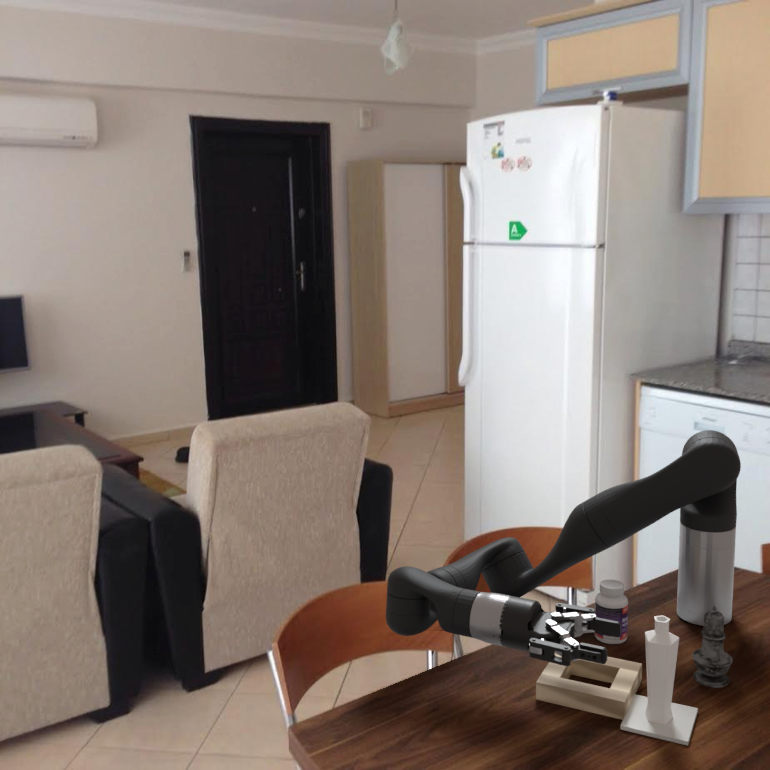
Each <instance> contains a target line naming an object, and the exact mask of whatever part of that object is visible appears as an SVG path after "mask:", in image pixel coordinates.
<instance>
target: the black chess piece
mask: <svg viewBox="0 0 770 770" xmlns="http://www.w3.org/2000/svg"><path fill="white" fill-rule="evenodd" d="M712 609H713V610H710V611H707V612H706V613H705V614H704V626H703V629H701V631H700V635H701V636H702V640H701V641H702V643H701V648H700V647H699V648H697V649H695V650H693V651H692V653H691V657H692V659H693V662H694V666H695V667H696V668H695V669H696V671H693V674H692V678H693V680H694V681H695V682H697V683H698V684H699V685H701V686H705V687H709V688H717V689H718V688H724V687H727V686H728V685H729V684H730V681H731V680H730V678H729V676H728V675H726V673H728V671H729V670H730V668H731V665H732V664H733V661H734V660H733V658H732V656H731V655H730V654H729V653H728V652H725V650H724V649H725V648H724V641H725V639H726V638H727V634H726V633H725V632H724V628H725V627H724V626H725V625H724V616H723V615H722V613H720V612H719V611H717V610H716V609H717V608H716V607H715V606H713V608H712Z"/></svg>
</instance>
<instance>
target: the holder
mask: <svg viewBox="0 0 770 770" xmlns="http://www.w3.org/2000/svg"><path fill="white" fill-rule="evenodd" d="M555 656H557V657H561V656H560V655H558V654H557V653H556V652H555ZM561 658H562V657H561ZM642 673H643V663H641V662H637V661H632V660H628V659H622V658H616V657H613V656H607V661H606V663H605V664H600V663H595V662H591V661H586V660H582V659H578V661H571V662H570V666H563V665H559V664H555V663H551V662H548V663H547V664H546V667H544V669H543V670H542V672H541V674H540V676H539V677H538V678H537V680H536V682H535V700H536V701H537V700H538V701H541V702H545V703H550V704H555V705H559V706H562V707H567V708H571V709H575V710H580V711H582V712H588V713H592V714H593V713H594V714H597V715H601V716H604V717H608V718H609V717H610V718H613V719H617V720H620V721H621V720H622V721H623V719H624V716H625V714H626V712H627V709H628V707H629V705H630V703H631V700H632V698H633V696H634V694H636V695H637V692H638V690H639V687H640V685H641V683H642V681H643V680H642V679H643V676H642V675H643V674H642ZM572 675H573V676H577V677H581V678H587V679H591V680H595V681H600V682H605V683H609V684H611V685H610V687H609V688H608V687H605V686H601V685H600V686H599V685H595V684H592V683H586V682H582V681H579V680H578V681H577V680H573V679H570V677H571V676H572Z"/></svg>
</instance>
